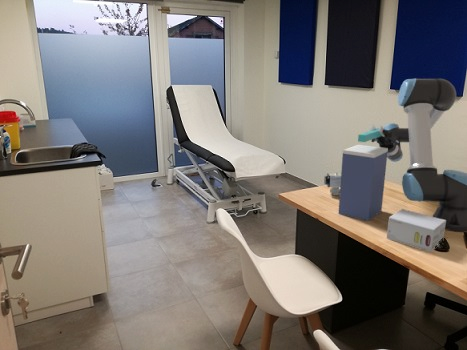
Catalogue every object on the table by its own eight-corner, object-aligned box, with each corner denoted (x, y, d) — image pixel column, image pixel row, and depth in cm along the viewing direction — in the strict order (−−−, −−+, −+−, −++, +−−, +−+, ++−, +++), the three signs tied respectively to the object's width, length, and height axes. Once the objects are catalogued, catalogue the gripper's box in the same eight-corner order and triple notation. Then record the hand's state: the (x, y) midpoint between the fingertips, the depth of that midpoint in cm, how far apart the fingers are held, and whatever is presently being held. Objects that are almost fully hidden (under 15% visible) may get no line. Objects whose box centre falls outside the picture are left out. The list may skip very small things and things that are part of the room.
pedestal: (352, 204, 190) (357, 144, 182) (381, 210, 181) (387, 148, 173) (338, 213, 178) (343, 150, 170) (368, 221, 170) (374, 154, 161)
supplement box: (385, 239, 152) (388, 216, 150) (399, 229, 161) (402, 208, 159) (430, 253, 141) (434, 229, 138) (443, 241, 150) (446, 219, 147)
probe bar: (378, 134, 185) (378, 127, 184) (384, 134, 183) (385, 128, 183) (357, 141, 168) (358, 134, 167) (364, 142, 166) (365, 135, 165)
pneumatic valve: (323, 193, 207) (324, 171, 204) (345, 193, 207) (346, 171, 204) (325, 196, 202) (326, 174, 199) (347, 196, 202) (349, 174, 199)
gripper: (403, 154, 190) (391, 137, 172) (371, 150, 200) (356, 133, 182) (407, 140, 191) (395, 121, 173) (374, 137, 201) (361, 118, 183)
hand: (375, 127), depth 177 cm, fingers closed on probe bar, 3 cm apart
